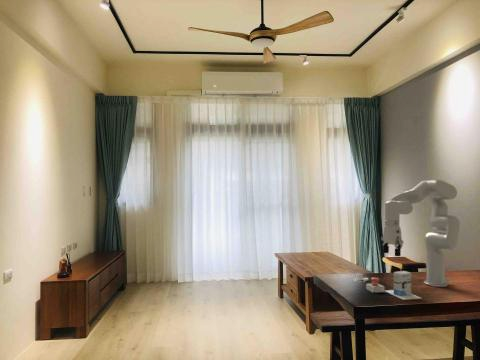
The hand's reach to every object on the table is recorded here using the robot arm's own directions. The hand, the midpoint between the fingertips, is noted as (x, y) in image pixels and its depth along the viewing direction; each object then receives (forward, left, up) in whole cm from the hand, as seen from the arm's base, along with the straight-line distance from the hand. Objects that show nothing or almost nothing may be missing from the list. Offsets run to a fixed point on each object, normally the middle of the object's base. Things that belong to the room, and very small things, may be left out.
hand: (391, 254), depth 195 cm
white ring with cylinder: (+2, -26, -22) cm, 34 cm away
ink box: (-4, +3, -21) cm, 22 cm away
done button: (+6, -7, -19) cm, 21 cm away
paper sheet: (-4, +3, -21) cm, 22 cm away
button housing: (+6, -7, -21) cm, 23 cm away
